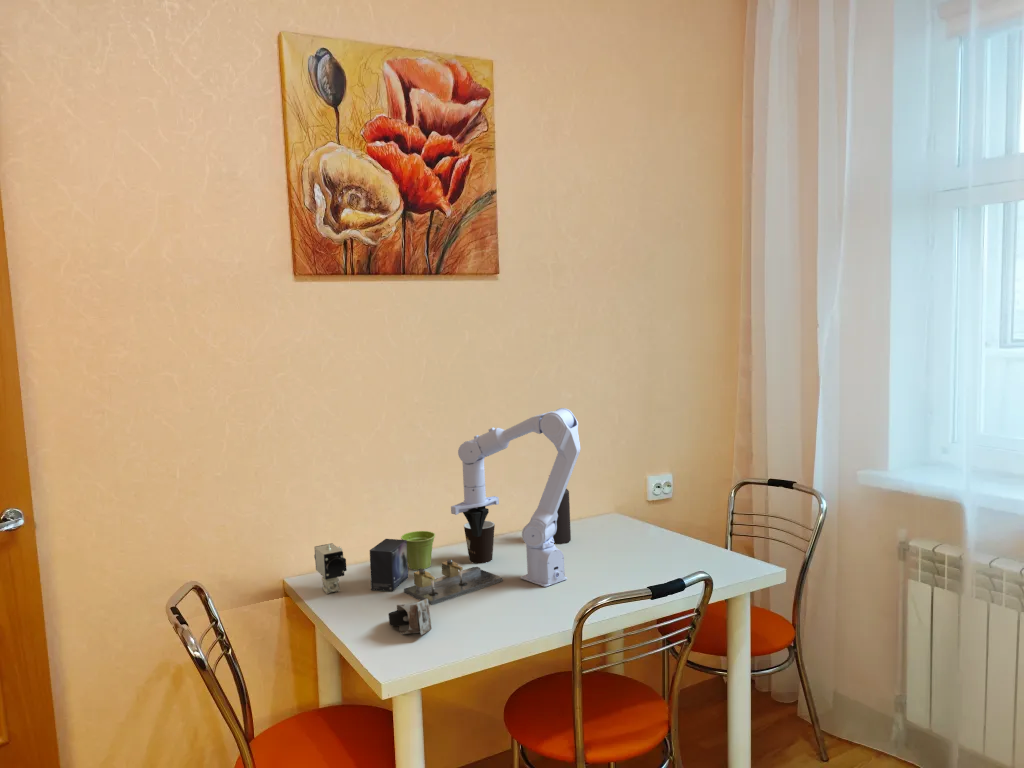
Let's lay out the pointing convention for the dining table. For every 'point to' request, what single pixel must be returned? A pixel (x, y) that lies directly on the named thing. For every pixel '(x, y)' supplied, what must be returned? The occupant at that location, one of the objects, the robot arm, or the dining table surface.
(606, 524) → the dining table surface
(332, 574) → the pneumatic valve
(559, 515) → the bottle
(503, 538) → the dining table surface
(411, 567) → the plant pot
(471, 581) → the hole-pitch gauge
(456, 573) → the sliding leg
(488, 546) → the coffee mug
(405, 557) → the small box
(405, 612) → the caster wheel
